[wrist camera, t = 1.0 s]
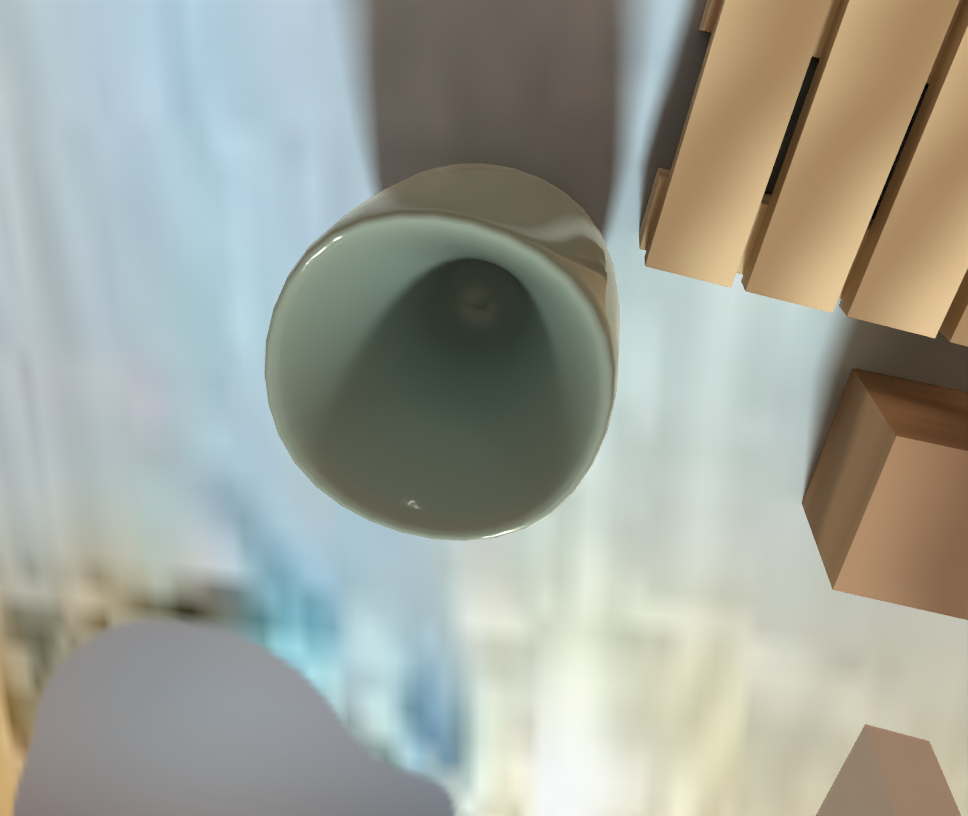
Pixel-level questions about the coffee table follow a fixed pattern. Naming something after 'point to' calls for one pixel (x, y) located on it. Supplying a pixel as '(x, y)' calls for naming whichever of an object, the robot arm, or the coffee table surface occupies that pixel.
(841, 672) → the coffee table surface
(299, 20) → the coffee table surface
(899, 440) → the crate
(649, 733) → the coffee table surface
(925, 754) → the robot arm
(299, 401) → the cup
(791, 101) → the pallet dock
